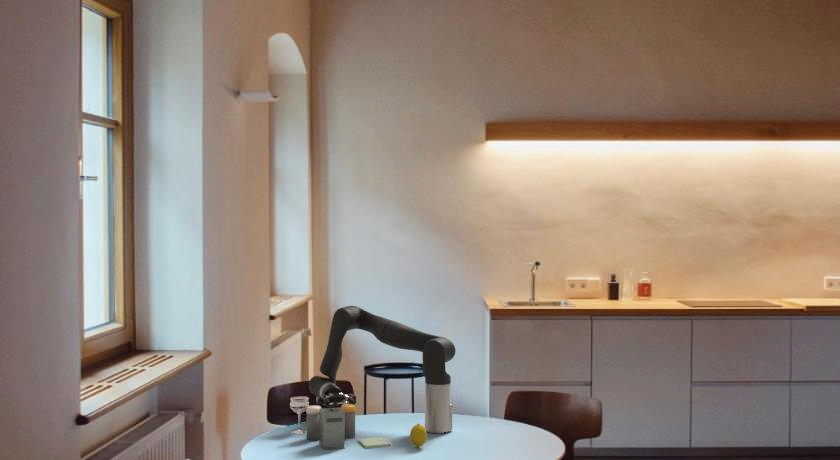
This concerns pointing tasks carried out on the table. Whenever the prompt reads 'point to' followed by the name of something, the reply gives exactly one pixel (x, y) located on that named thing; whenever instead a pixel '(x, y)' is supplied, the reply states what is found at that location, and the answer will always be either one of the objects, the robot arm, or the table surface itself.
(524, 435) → the table surface
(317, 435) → the cylinder
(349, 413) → the cylinder
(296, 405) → the wineglass
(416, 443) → the lemon
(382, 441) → the pad
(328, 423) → the unit
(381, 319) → the robot arm
